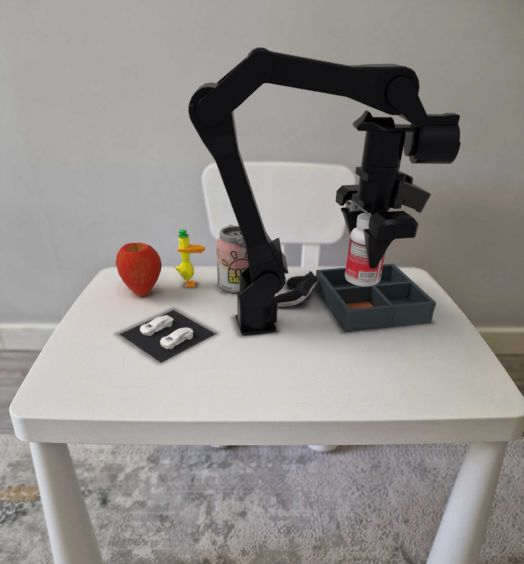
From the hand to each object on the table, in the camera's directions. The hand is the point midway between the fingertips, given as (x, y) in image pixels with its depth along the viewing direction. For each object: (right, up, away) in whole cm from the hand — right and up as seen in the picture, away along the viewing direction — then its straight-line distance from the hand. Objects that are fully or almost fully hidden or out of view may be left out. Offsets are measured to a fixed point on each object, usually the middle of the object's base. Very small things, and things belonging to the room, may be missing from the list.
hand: (365, 259), depth 77 cm
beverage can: (-22, -2, +20) cm, 30 cm away
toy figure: (-33, -2, +19) cm, 38 cm away
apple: (-42, -4, +16) cm, 45 cm away
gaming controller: (-11, -5, +15) cm, 19 cm away
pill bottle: (0, -3, +2) cm, 4 cm away
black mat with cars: (-34, -13, +4) cm, 37 cm away
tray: (+4, -6, +14) cm, 16 cm away
